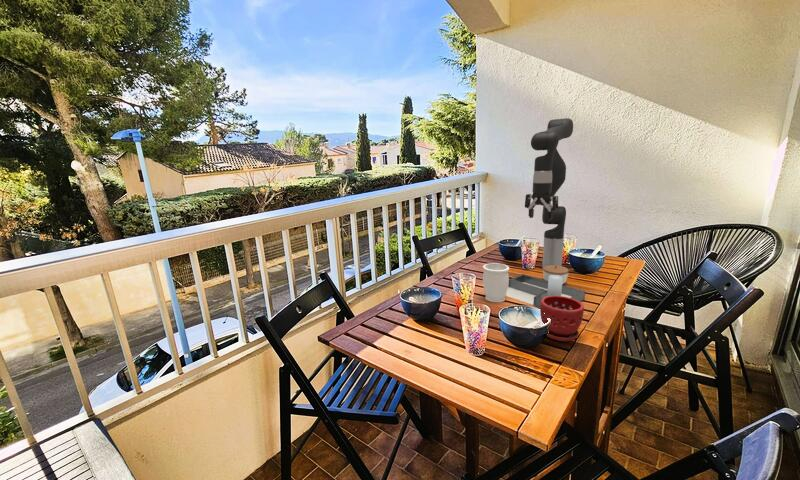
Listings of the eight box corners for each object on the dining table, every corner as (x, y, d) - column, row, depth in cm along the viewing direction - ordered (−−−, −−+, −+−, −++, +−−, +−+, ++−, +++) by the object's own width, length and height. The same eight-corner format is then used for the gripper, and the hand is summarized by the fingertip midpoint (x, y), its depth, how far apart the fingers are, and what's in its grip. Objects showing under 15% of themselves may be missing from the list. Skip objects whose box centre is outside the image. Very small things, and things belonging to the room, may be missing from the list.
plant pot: (586, 345, 110) (589, 311, 107) (542, 343, 112) (545, 309, 109) (574, 326, 122) (577, 295, 119) (535, 323, 125) (537, 293, 122)
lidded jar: (562, 280, 164) (563, 261, 162) (570, 288, 154) (572, 269, 152) (539, 280, 165) (540, 261, 163) (546, 288, 155) (547, 269, 153)
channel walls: (522, 280, 163) (522, 273, 163) (584, 299, 141) (585, 291, 140) (496, 292, 152) (496, 284, 151) (559, 314, 129) (560, 305, 128)
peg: (550, 301, 140) (552, 273, 137) (562, 305, 136) (565, 277, 133) (544, 305, 137) (546, 277, 134) (556, 309, 133) (558, 280, 130)
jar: (479, 302, 144) (480, 269, 140) (485, 293, 153) (486, 261, 149) (505, 306, 139) (506, 272, 135) (510, 297, 148) (511, 264, 144)
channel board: (522, 282, 164) (522, 280, 163) (584, 300, 141) (584, 299, 141) (496, 293, 152) (496, 292, 152) (559, 316, 130) (559, 314, 129)
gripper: (563, 181, 142) (560, 219, 146) (532, 180, 153) (530, 215, 157) (553, 182, 138) (551, 222, 142) (522, 181, 149) (520, 218, 153)
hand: (540, 218), depth 150 cm, fingers open, 8 cm apart
